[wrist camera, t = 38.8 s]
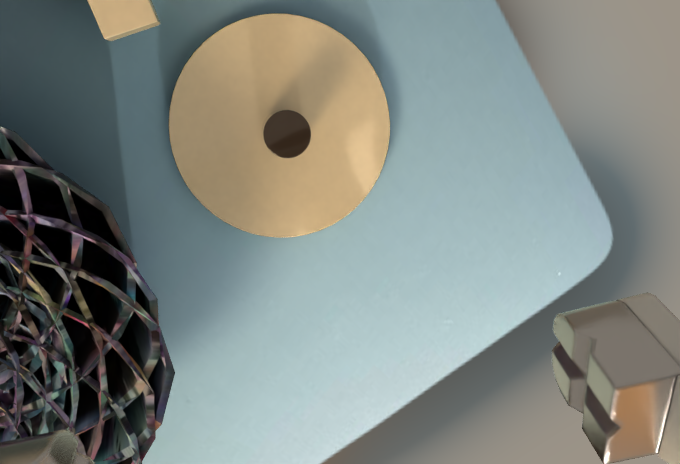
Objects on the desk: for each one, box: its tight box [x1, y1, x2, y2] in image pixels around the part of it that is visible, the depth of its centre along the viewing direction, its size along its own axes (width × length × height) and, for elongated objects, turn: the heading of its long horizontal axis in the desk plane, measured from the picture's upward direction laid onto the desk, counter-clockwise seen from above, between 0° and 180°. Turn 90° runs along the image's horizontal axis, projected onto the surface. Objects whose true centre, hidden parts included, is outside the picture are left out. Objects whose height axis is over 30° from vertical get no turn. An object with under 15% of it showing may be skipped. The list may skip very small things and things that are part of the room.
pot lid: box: [169, 13, 390, 238], centre depth 30 cm, size 13×13×5 cm
